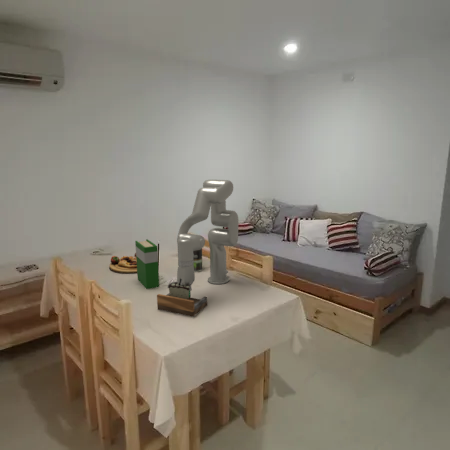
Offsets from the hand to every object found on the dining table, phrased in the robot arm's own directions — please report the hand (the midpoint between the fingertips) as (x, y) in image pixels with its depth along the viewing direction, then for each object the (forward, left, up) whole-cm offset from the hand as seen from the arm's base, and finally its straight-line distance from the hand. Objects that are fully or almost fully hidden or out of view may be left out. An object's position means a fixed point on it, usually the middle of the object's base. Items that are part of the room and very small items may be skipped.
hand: (187, 297), depth 182 cm
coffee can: (-48, -23, -4) cm, 53 cm away
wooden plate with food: (-38, -64, -4) cm, 75 cm away
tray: (+4, 0, -3) cm, 6 cm away
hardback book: (-16, -36, -4) cm, 39 cm away
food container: (+4, 0, -1) cm, 5 cm away
